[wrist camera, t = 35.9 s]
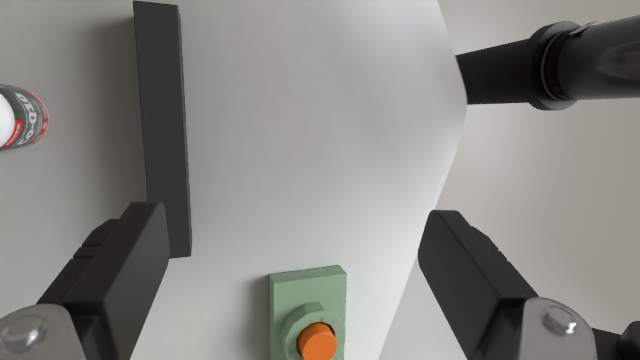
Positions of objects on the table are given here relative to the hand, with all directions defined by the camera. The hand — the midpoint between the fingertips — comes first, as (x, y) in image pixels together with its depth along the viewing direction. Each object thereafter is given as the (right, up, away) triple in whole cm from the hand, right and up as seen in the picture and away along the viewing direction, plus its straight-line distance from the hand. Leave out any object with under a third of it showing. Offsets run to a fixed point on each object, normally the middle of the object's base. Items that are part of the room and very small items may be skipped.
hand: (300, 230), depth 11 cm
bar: (-13, +5, +20) cm, 25 cm away
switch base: (-1, -14, +28) cm, 32 cm away
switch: (0, -15, +25) cm, 29 cm away
